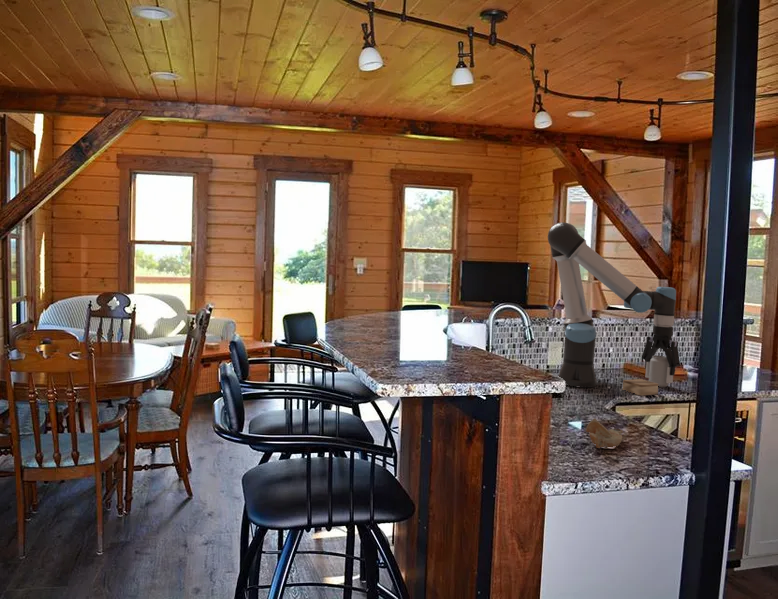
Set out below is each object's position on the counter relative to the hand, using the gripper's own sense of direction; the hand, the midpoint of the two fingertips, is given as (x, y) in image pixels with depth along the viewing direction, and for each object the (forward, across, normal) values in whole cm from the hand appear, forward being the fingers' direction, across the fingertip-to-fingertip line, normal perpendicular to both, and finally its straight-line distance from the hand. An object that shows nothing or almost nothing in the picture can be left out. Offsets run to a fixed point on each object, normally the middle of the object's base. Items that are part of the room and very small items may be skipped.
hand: (658, 380), depth 284 cm
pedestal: (+2, -7, +18) cm, 19 cm away
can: (+2, 0, 0) cm, 2 cm away
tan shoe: (+3, -57, +83) cm, 101 cm away
